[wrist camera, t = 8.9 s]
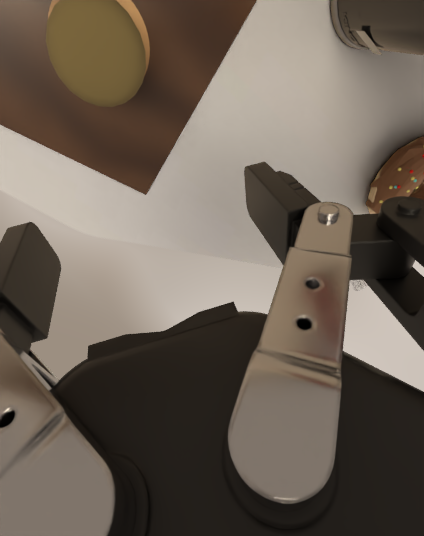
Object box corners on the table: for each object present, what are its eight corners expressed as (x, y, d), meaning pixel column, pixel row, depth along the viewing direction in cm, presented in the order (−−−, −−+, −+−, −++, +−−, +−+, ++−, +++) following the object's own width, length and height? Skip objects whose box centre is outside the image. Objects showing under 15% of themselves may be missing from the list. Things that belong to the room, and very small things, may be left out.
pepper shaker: (50, 58, 23) (17, 81, 15) (73, -33, 20) (49, -66, 12) (124, 102, 26) (130, 140, 18) (153, 28, 23) (175, 34, 15)
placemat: (-1, -307, 14) (-2, -310, 14) (257, -3, 24) (258, -3, 23) (-64, 93, 22) (-65, 93, 22) (145, 194, 32) (145, 194, 32)
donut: (454, 177, 43) (485, 191, 39) (373, 234, 47) (395, 252, 43) (446, 96, 34) (487, 105, 30) (347, 175, 38) (372, 192, 34)
